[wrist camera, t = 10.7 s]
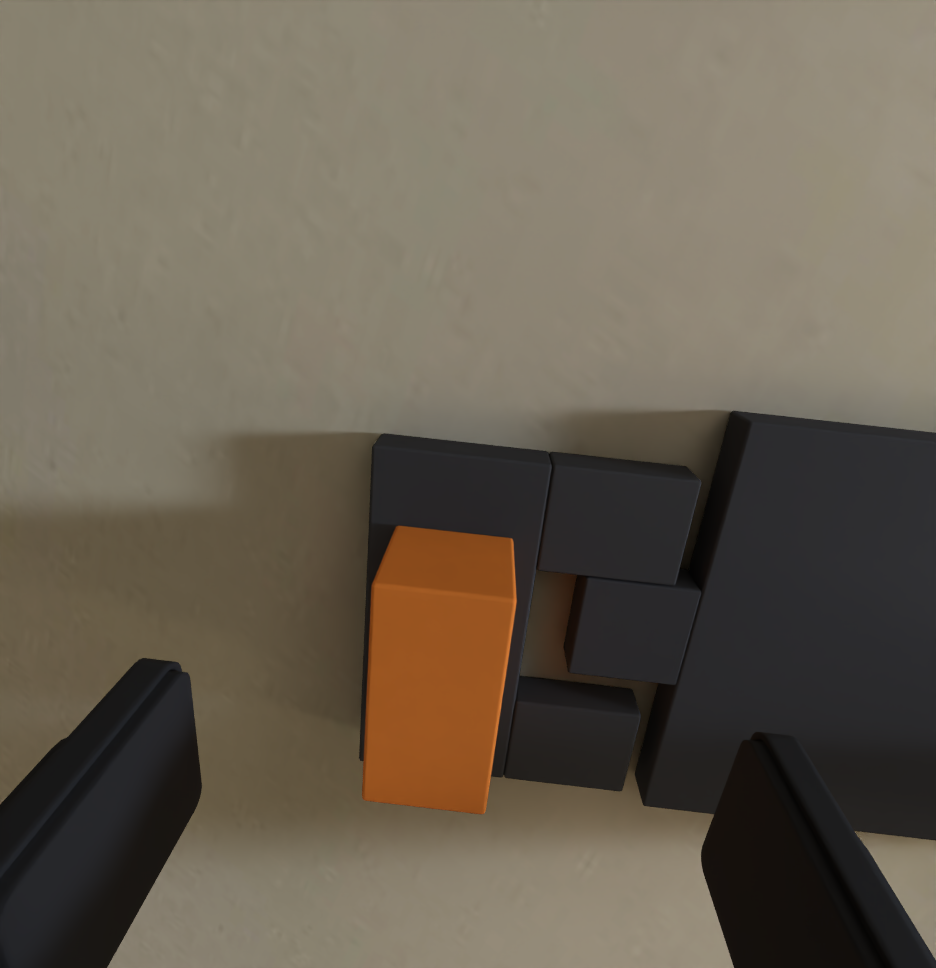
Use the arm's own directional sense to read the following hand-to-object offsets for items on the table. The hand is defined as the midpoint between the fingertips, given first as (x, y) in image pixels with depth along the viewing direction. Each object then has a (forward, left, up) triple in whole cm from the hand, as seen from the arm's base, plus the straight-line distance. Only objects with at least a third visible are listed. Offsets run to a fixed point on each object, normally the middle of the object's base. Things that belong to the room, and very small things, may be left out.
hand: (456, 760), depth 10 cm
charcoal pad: (+1, +9, -7) cm, 12 cm away
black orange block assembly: (+1, +1, -7) cm, 7 cm away
